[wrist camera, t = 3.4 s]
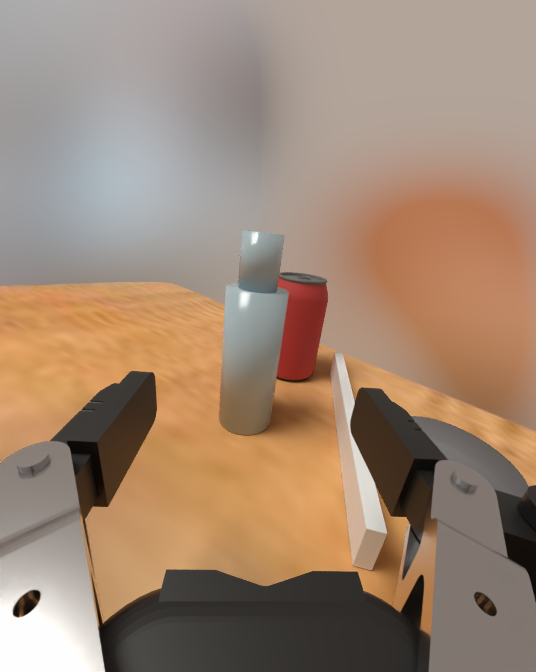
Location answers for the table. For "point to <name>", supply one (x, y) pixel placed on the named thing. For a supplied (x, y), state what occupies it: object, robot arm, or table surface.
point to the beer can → (301, 324)
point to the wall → (356, 477)
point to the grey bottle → (252, 335)
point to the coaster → (474, 455)
